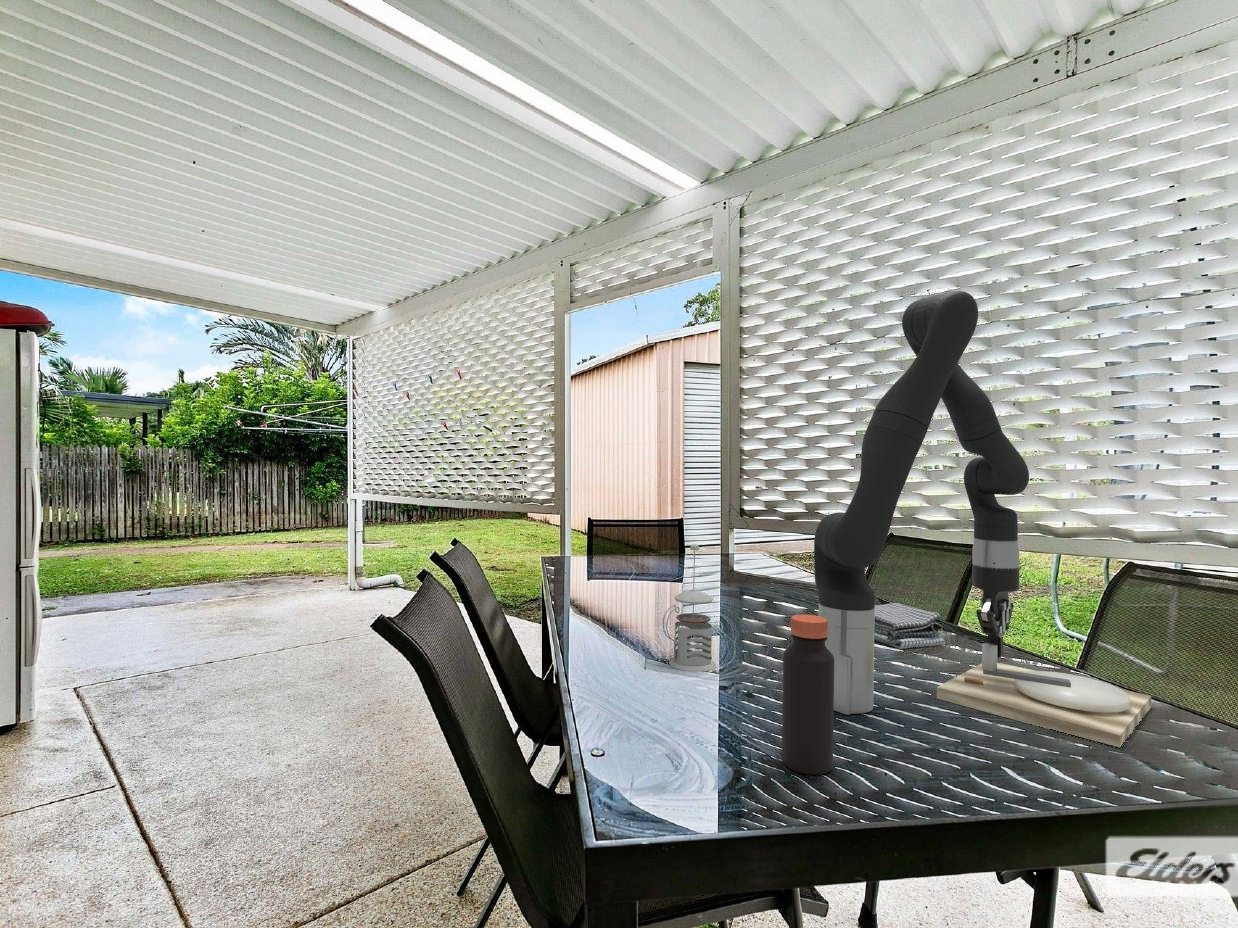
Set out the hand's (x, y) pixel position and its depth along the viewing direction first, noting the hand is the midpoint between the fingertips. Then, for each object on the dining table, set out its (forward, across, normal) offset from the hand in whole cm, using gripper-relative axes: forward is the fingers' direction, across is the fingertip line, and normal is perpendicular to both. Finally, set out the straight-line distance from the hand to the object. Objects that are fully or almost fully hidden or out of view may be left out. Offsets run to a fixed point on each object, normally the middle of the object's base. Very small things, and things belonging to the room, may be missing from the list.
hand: (995, 655), depth 115 cm
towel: (+8, +23, +29) cm, 38 cm away
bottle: (+6, -54, +7) cm, 54 cm away
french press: (+6, -34, +47) cm, 58 cm away
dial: (+4, -1, -10) cm, 11 cm away
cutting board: (+7, 0, -7) cm, 10 cm away
